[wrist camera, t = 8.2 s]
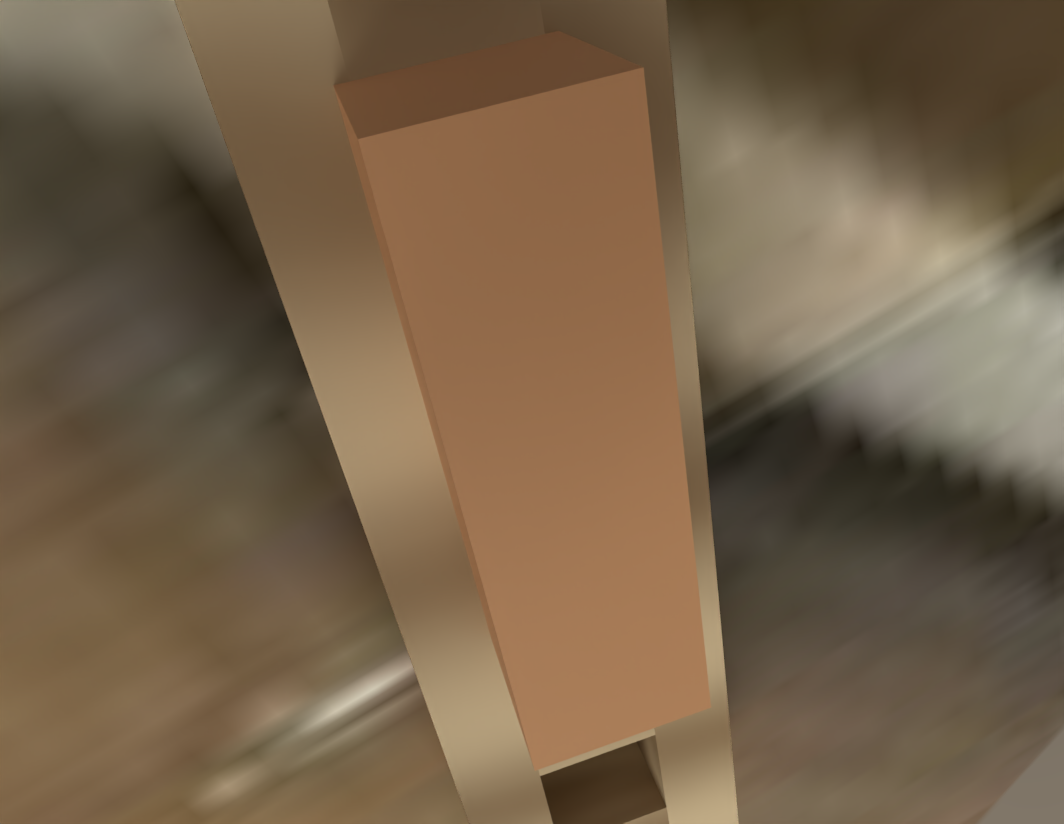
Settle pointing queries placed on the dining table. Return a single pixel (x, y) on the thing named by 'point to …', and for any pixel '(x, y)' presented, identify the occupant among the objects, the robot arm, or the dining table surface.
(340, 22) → the rail
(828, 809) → the dining table surface
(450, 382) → the orange-tan bridge block
